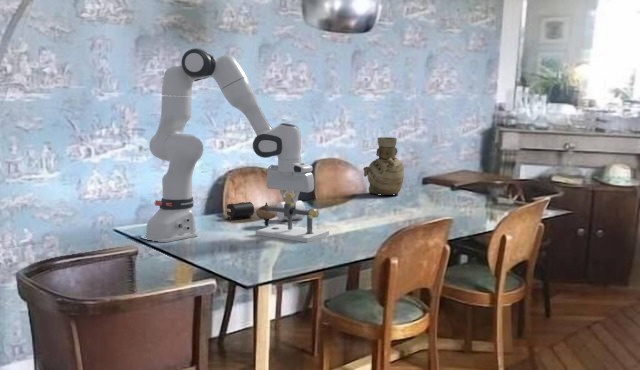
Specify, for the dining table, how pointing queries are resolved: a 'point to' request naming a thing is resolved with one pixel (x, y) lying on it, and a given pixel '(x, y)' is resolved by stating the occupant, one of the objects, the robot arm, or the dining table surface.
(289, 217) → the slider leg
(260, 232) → the hole board
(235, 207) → the end cap
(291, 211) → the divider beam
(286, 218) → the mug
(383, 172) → the ceramic vessel
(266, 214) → the brown spinning top
